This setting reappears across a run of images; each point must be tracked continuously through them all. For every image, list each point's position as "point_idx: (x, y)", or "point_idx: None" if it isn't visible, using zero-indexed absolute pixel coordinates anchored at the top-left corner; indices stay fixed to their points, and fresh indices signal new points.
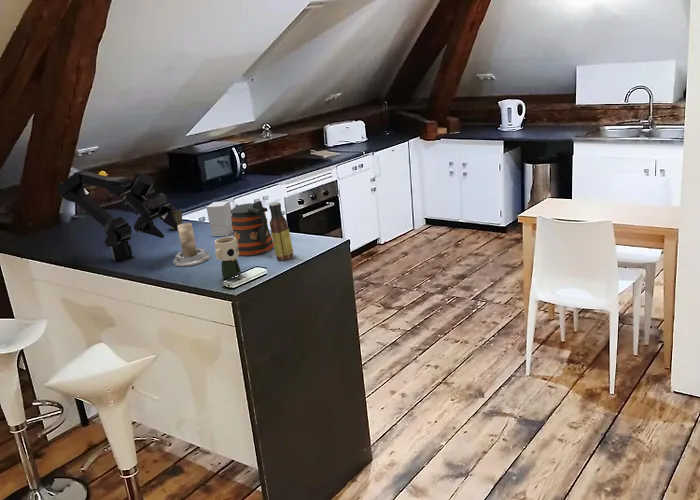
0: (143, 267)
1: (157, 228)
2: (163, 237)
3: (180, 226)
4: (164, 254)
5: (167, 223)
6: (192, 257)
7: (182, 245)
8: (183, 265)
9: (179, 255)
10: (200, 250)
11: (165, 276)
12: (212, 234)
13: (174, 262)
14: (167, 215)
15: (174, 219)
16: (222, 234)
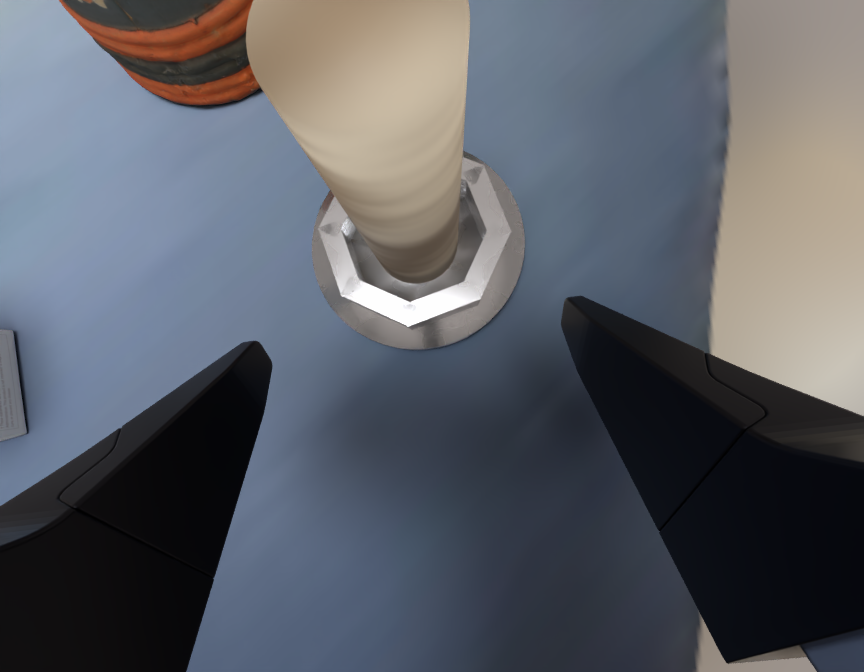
0: (590, 484)
1: (663, 367)
2: (565, 315)
3: (434, 33)
4: (360, 525)
5: (208, 563)
6: (470, 163)
7: (459, 203)
8: (517, 215)
9: (458, 284)
10: None
11: (667, 214)
12: (9, 431)
13: (508, 291)
14: (11, 660)
15: (111, 442)
16: (4, 362)
